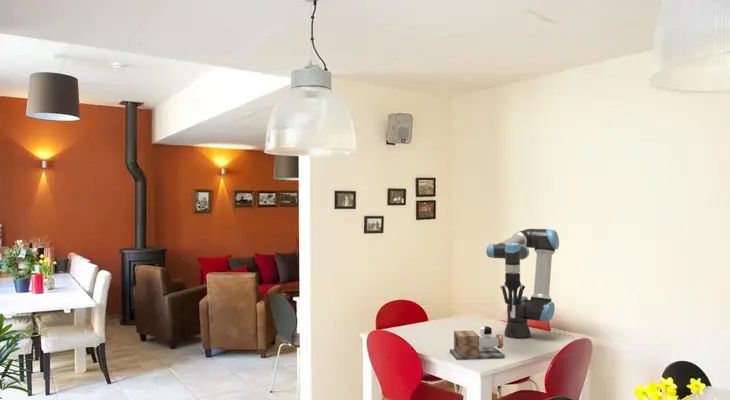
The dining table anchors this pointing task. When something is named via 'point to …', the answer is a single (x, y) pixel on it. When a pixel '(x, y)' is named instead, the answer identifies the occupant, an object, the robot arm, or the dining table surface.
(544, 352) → the dining table surface
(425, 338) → the dining table surface
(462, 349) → the bearing block
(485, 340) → the shaft
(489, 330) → the medicine bottle
